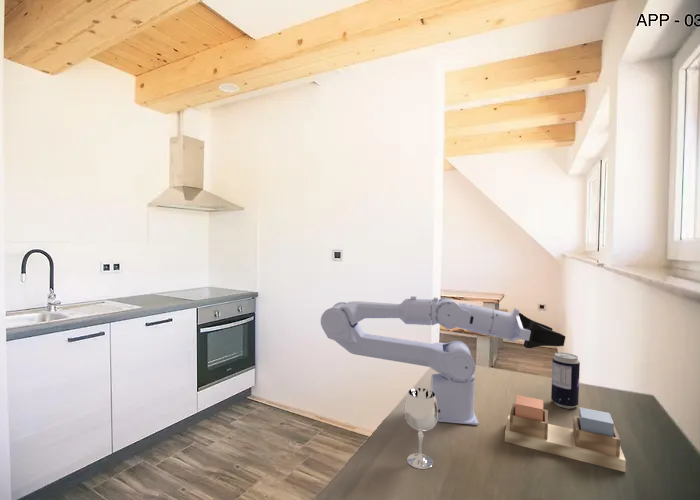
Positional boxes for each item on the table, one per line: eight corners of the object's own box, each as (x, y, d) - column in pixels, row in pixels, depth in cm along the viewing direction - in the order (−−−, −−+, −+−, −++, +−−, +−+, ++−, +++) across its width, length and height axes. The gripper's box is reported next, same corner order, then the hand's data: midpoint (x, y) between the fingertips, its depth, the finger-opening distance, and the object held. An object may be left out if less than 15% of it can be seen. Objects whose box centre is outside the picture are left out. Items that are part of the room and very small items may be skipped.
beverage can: (582, 411, 86) (584, 360, 86) (555, 408, 87) (557, 357, 87) (572, 401, 92) (574, 353, 91) (547, 398, 93) (549, 351, 92)
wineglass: (413, 448, 68) (415, 384, 68) (442, 460, 65) (444, 392, 65) (396, 462, 64) (398, 393, 64) (427, 475, 60) (429, 403, 60)
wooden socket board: (504, 441, 72) (505, 416, 72) (508, 424, 79) (509, 401, 79) (625, 472, 63) (626, 442, 63) (617, 449, 70) (618, 423, 70)
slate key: (581, 433, 67) (581, 417, 67) (578, 422, 71) (579, 407, 71) (613, 440, 65) (613, 423, 65) (609, 428, 69) (609, 413, 69)
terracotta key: (515, 418, 72) (515, 403, 72) (516, 409, 76) (517, 395, 76) (542, 425, 70) (543, 409, 70) (542, 414, 74) (543, 400, 74)
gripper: (500, 308, 73) (574, 324, 70) (488, 300, 87) (549, 312, 85) (493, 343, 73) (567, 360, 71) (482, 329, 88) (543, 342, 85)
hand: (557, 336), depth 78 cm, fingers open, 7 cm apart
